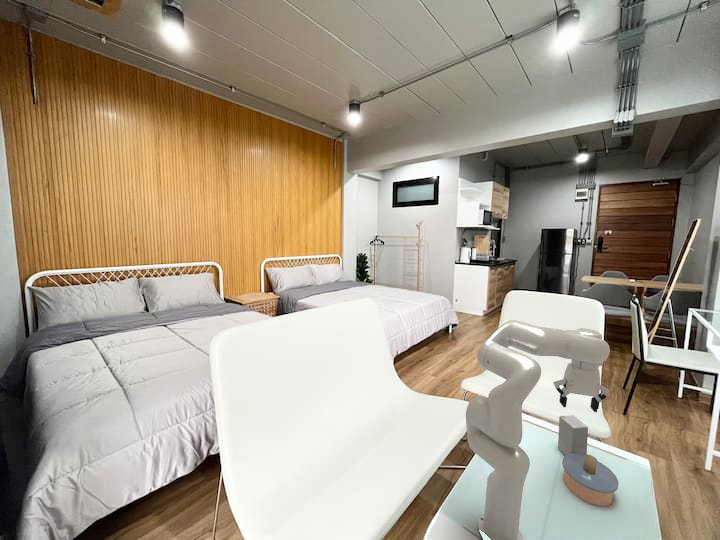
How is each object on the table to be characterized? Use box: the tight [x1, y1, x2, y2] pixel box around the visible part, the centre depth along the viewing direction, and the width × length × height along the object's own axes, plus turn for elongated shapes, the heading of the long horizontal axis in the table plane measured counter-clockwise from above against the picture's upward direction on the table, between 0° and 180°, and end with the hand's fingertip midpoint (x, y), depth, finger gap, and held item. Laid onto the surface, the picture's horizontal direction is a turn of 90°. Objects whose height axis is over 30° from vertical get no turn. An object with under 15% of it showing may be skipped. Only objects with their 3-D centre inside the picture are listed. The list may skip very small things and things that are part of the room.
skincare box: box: [557, 415, 589, 457], centre depth 120 cm, size 8×7×16 cm
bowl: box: [562, 469, 614, 507], centre depth 106 cm, size 14×14×6 cm
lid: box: [561, 453, 619, 494], centre depth 105 cm, size 16×16×6 cm
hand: (578, 407), depth 106 cm, fingers open, 9 cm apart
